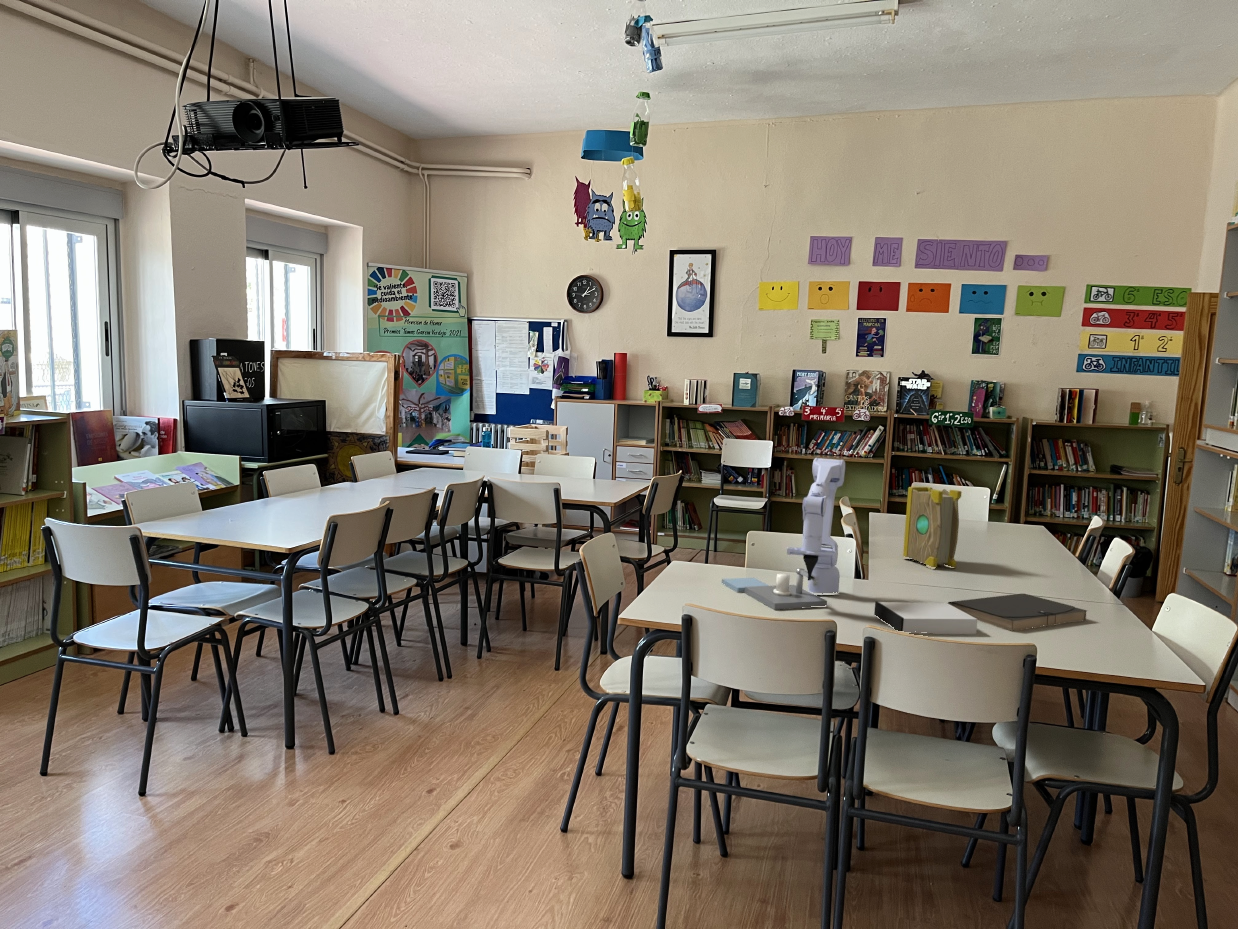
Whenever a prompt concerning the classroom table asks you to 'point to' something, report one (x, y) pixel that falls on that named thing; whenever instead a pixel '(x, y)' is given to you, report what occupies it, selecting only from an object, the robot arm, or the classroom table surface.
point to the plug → (782, 585)
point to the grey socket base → (795, 600)
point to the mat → (742, 583)
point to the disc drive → (926, 617)
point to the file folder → (1019, 611)
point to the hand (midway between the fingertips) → (809, 579)
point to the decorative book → (931, 525)
